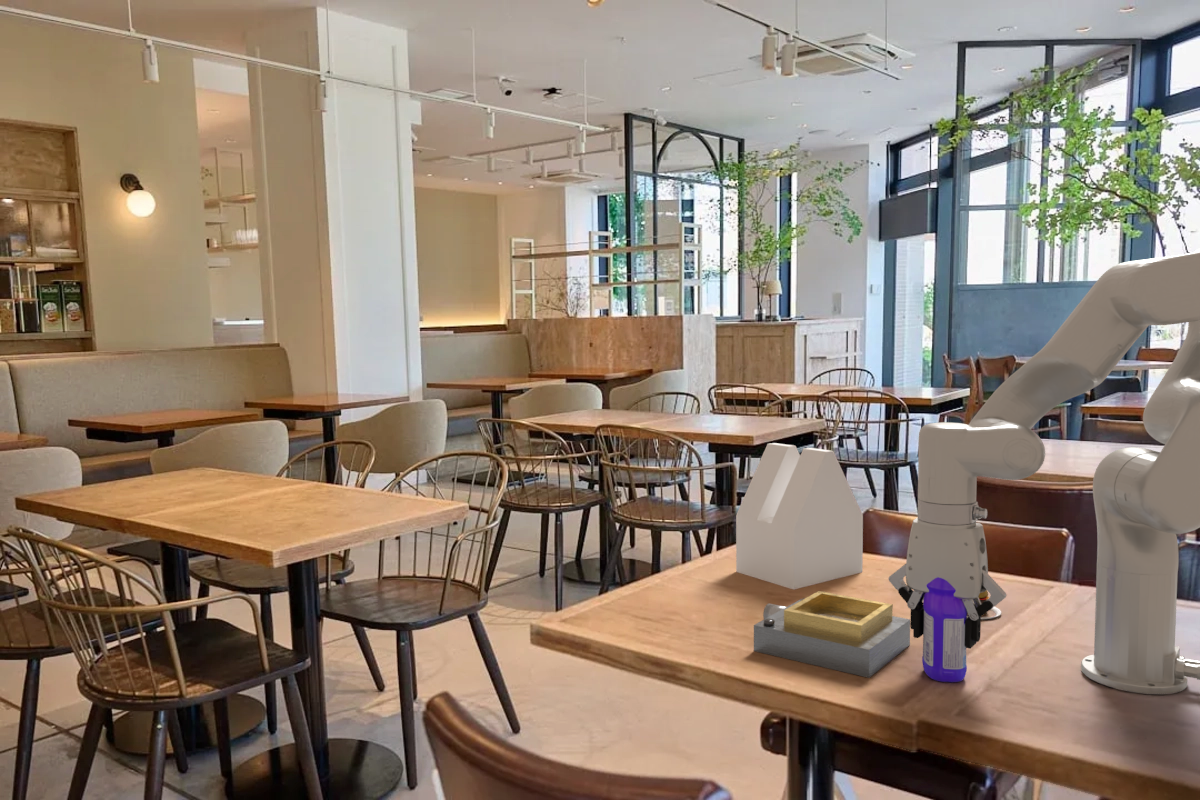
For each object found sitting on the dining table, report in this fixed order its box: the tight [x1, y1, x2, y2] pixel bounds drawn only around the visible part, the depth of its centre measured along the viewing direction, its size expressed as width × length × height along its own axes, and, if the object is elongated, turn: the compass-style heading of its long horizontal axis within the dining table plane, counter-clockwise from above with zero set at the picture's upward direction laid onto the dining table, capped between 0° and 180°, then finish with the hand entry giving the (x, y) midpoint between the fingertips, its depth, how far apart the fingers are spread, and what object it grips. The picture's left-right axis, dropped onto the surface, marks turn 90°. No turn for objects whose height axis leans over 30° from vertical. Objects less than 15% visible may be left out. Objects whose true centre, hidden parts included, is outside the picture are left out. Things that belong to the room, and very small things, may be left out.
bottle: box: [921, 577, 968, 683], centre depth 127 cm, size 7×6×17 cm
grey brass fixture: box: [753, 590, 911, 678], centre depth 140 cm, size 22×16×6 cm
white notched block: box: [735, 442, 864, 590], centre depth 181 cm, size 19×15×25 cm
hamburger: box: [967, 590, 1002, 620], centre depth 155 cm, size 12×12×6 cm
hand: (944, 639), depth 128 cm, fingers closed on bottle, 6 cm apart
